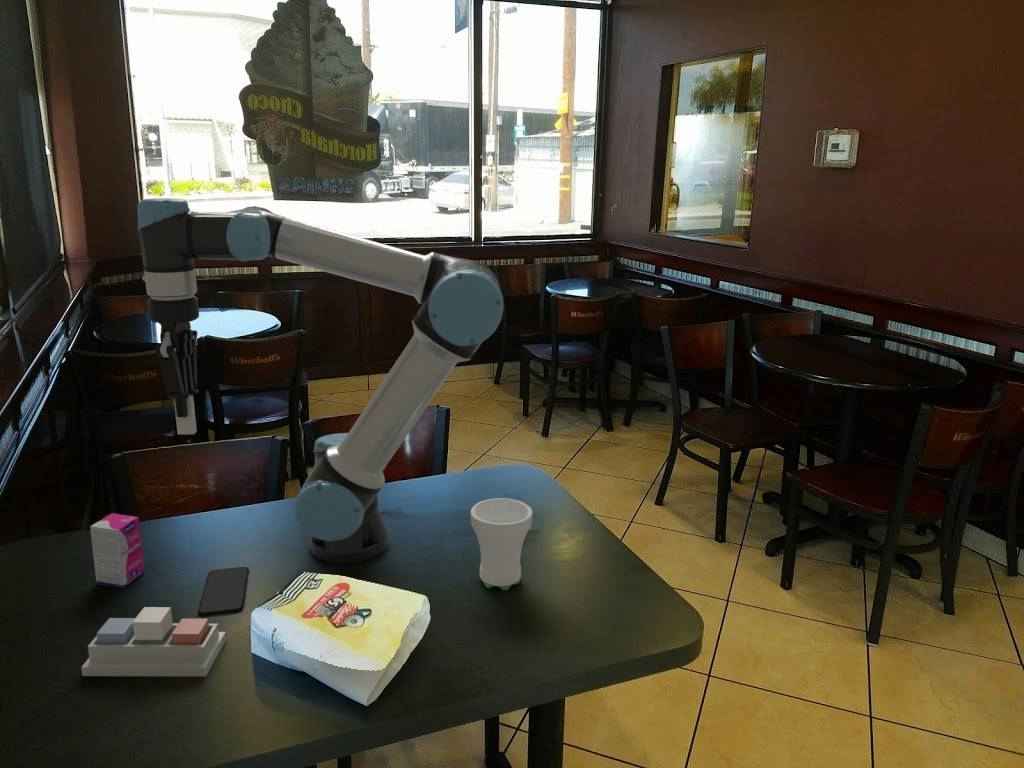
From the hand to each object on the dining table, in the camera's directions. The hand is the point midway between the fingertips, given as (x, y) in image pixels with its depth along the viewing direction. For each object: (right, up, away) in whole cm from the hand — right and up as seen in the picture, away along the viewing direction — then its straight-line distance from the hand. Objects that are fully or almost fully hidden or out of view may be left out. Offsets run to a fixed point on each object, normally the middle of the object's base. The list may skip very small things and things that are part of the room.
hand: (187, 432), depth 130 cm
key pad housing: (+1, -34, -13) cm, 36 cm away
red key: (+7, -31, -14) cm, 35 cm away
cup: (+53, -28, +11) cm, 61 cm away
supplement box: (-16, -27, +8) cm, 32 cm away
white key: (+1, -29, -15) cm, 33 cm away
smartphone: (+5, -29, +5) cm, 30 cm away
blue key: (-4, -31, -14) cm, 35 cm away
